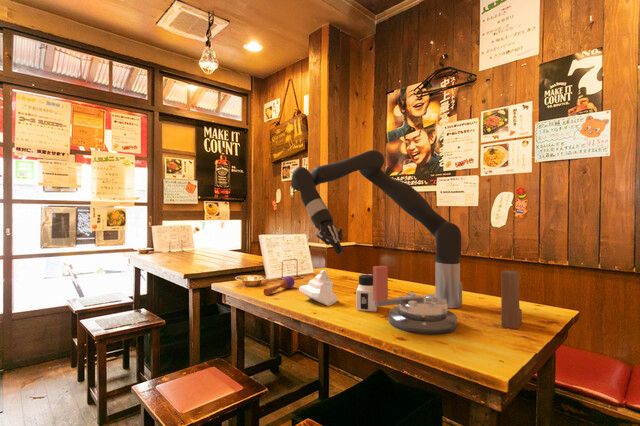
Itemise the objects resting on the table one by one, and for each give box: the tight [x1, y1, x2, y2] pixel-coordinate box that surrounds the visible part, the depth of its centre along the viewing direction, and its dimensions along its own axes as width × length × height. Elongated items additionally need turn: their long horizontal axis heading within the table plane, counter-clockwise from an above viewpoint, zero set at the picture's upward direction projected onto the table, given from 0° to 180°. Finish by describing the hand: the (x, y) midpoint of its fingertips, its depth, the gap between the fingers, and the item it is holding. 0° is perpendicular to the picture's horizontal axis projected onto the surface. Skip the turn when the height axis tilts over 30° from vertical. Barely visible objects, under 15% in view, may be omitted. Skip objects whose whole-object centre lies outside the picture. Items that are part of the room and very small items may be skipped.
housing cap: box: [388, 305, 458, 336], centre depth 112 cm, size 22×22×3 cm
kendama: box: [263, 275, 296, 296], centre depth 159 cm, size 6×6×20 cm
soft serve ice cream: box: [298, 269, 339, 307], centre depth 140 cm, size 12×15×14 cm
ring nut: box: [372, 265, 448, 321], centre depth 111 cm, size 26×16×16 cm, turn 107°
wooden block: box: [500, 269, 523, 330], centre depth 111 cm, size 9×4×18 cm, turn 140°
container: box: [355, 273, 378, 312], centre depth 130 cm, size 8×8×13 cm
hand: (340, 253), depth 119 cm, fingers closed
